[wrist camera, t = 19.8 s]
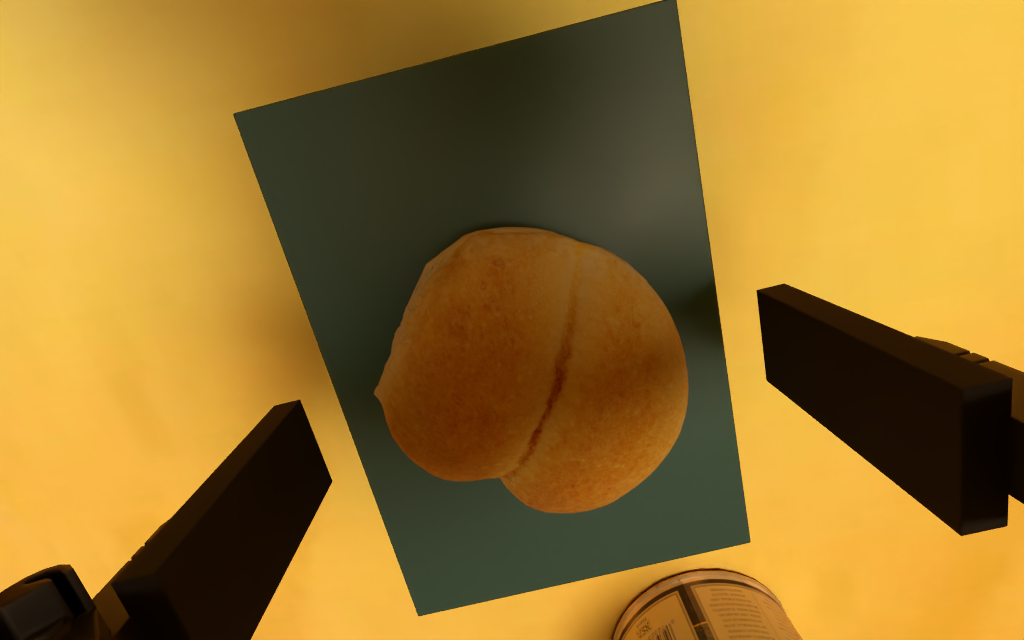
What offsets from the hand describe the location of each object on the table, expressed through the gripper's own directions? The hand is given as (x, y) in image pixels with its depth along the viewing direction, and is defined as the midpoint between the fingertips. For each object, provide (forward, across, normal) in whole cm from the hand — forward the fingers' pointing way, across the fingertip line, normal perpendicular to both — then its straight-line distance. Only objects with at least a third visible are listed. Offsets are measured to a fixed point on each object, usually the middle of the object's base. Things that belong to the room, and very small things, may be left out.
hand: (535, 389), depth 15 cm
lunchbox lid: (+3, 0, 0) cm, 3 cm away
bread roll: (+2, 0, 0) cm, 2 cm away
